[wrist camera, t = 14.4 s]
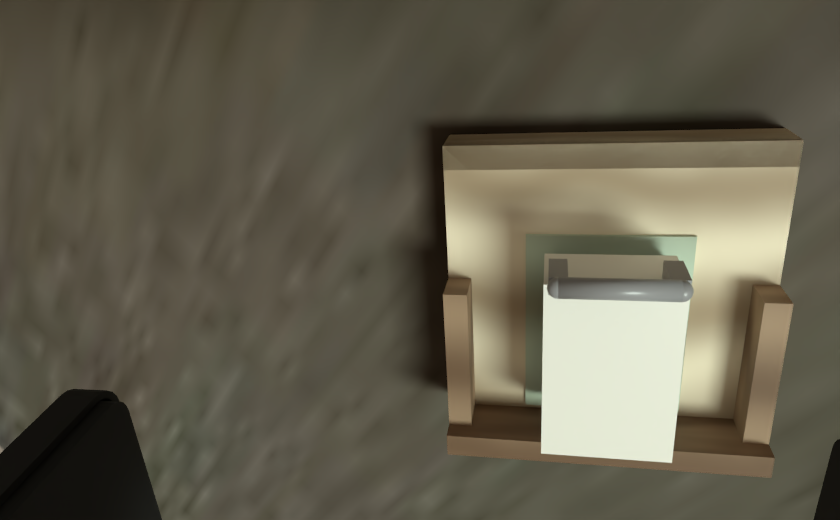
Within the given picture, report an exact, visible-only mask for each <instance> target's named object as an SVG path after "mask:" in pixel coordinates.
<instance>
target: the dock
mask: <svg viewBox="0 0 840 520" xmlns="http://www.w3.org/2000/svg"><path fill="white" fill-rule="evenodd" d="M803 142H804V140H803V139H801V138H800V137H798V136H797V135H795V134H794V133H792V132H791V131H789V130H788V129H786V128H767V129H716V130H665V131H614V132H563V133H512V134H461V135H449V137H448V138H447V140H446V141H445V143H444V144H443V146H442V148H443V170H444V191H445V212H446V233H447V255H448V276H449V278H448V281H447V284H446V287H445V290H444V293H443V307H444V327H445V346H446V366H447V385H448V405H449V429H448V433H447V448H448V454H452V455H465V456H479V457H493V458H507V459H520V460H534V461H548V462H562V463H575V464H589V465H603V466H617V467H630V468H644V469H658V470H672V471H685V472H699V473H713V474H727V475H740V476H754V477H768V478H771V476H772V471H773V465H774V460H775V457H774V455H773V453H772V451H771V449H770V446H769V441H770V435H771V429H772V423H773V418H774V412H775V406H776V401H777V395H778V389H779V384H780V378H781V372H782V366H783V361H784V355H785V349H786V344H787V338H788V332H789V327H790V321H791V315H792V309H793V303H792V301H791V300H790V299H789V297H788V296H787V294H786V293H785V292H784V290H783V289H782V287H781V286H780V281H781V275H782V269H783V263H784V257H785V251H786V245H787V239H788V233H789V227H790V221H791V214H792V208H793V202H794V196H795V190H796V184H797V178H798V172H799V166H800V160H801V154H802V148H803ZM545 254H603V255H668V256H677V257H678V259H679V261H684V263H685V265H686V267H687V270H688V272H689V274H690V276H691V279H692V286H693V289H694V293H693V296H692V298H691V299H690V302H689V312H688V321H687V330H686V339H685V348H684V357H683V366H682V376H681V385H680V394H679V403H678V412H677V421H676V430H675V439H674V449H673V458H672V463H666V462H652V461H638V460H624V459H610V458H597V457H583V456H569V455H555V454H541V421H542V354H543V286H544V255H545Z"/></svg>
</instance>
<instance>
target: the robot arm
mask: <svg viewBox="0 0 840 520" xmlns="http://www.w3.org/2000/svg"><path fill="white" fill-rule="evenodd" d="M0 520H162V518H161V515H160V512H159V508H158V505H157V502H156V499H155V495H154V492H153V489H152V485H151V482H150V479H149V476H148V472H147V469H146V466H145V463H144V459H143V456H142V453H141V449H140V446H139V443H138V440H137V436H136V433H135V430H134V426H133V423H132V420H131V417H130V413H129V410H128V408H127V406H126V405H125V404H124V403H123V402H119V400H118V397H117V396H116V395H115V394H114V393H113V392H110V391H103V390H83V389H72V390H68V391H66V392H65V393H63V394H62V395H61V396H60V397H59V398H58V399H57V400H56V401H55V402H54V403H52V404H51V405H50V406H49V407H48V408H47V409H46V410H45V411H44V412H43V413H42V414H41V415H40V416H39V417H38V418H37V419H36V420H35V421H34V422H33V423H32V424H31V425H30V426H29V427H28V428H27V429H25V430H24V431H23V432H22V433H21V434H20V435H19V436H18V437H17V438H16V439H15V440H14V441H13V442H12V443H11V444H10V445H9V446H8V447H7V448H6V449H5V450H4V451H3V452H2V453H1V454H0ZM814 520H840V439H839V440H837V441H836V442H835V443H834V445H833V448H832V452H831V455H830V459H829V463H828V467H827V471H826V474H825V478H824V482H823V486H822V490H821V494H820V497H819V501H818V505H817V509H816V513H815V517H814Z"/></svg>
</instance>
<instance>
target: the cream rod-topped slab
mask: <svg viewBox="0 0 840 520" xmlns="http://www.w3.org/2000/svg"><path fill="white" fill-rule="evenodd" d="M693 293H694V289H693V286H692V279H691V276H690V274H689V272H688V270H687V267H686V265H685V263H684V261H679V259H678V257H677V256H668V255H603V254H545V255H544V286H543V354H542V421H541V454H555V455H569V456H583V457H597V458H610V459H624V460H638V461H652V462H666V463H672V458H673V449H674V439H675V430H676V421H677V412H678V403H679V394H680V385H681V376H682V366H683V357H684V348H685V339H686V330H687V321H688V312H689V302H690V299H691V298H692V296H693Z"/></svg>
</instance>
